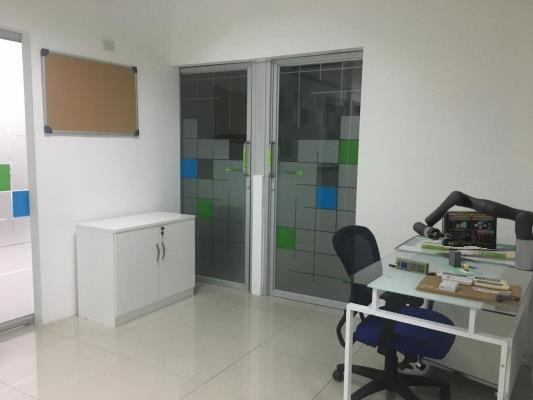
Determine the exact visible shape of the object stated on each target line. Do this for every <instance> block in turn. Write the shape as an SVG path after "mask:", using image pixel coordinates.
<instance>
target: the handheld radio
mask: <svg viewBox="0 0 533 400" xmlns="http://www.w3.org/2000/svg"><path fill="white" fill-rule="evenodd" d="M395 261H396V262H395V264H392V263H389V264H388V267H393V268H396V270H401V271H405V272H410V273H414V274H420V275H425V276H428V275H429V270H430V263H429V262H424V261H419V260H414V259H407V258H402V257H398V256H395Z"/></svg>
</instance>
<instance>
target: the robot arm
mask: <svg viewBox="0 0 533 400" xmlns="http://www.w3.org/2000/svg"><path fill="white" fill-rule="evenodd" d="M455 206H457V207H461V208H467V209H470V210H472V211H477V212H480V213H482V214H485V215H488V216H491V217H495V218H497V219H502V220H509V221H512V222H513V221H514V233H515V249H514V250H515V252H514V253H515V254H514V269H517V270H521V271H532V270H533V211H531V210H524V209H520V208H515V207H512V206H509V205H506V204H504V203H500V202H497V201H494V200H492V199H491V200H489V199H485V198H477V197H474V196H471V195H468V194H466V193H464V192H462V191H460V190H454V191H451V192H450V194H449V195H448V196H447V197H446V198H445V199H444V200H443V201H442V202H441V203H440V205H439V206H438V207H437V208H435V209H434V211H432V212H431V213H430V214H428V216H426V217H425V218H424V222H425V223H423V222H421V221H416V222H415V223H413V225H412V230H413V231H414V232H416V234H418V235H419V236H420V237H426V238H427V239H430V240H432V241H439V240H442V239H446V238H448V239H451V240H452V239H453V236H452V234H449V233H442V230H440V229H439V228H437V227H434V226H435V225H437V223H439V222H440V221H442V218H443V216H444V215H445V213H446V212H447V211H450V209H451V208H453V207H455ZM444 236H445V237H444ZM443 237H444V238H443Z"/></svg>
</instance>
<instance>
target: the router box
mask: <svg viewBox="0 0 533 400" xmlns="http://www.w3.org/2000/svg"><path fill="white" fill-rule="evenodd" d="M497 229H498V218H495V217H491V216H488V215H485V214H482V213H480V212H477V211H475V210H448V211H447V212H446V213H445V215H444V216H443V218H442V219H441V232H442V233H449V234H452V236H453V239H452V240H451V239H448V238H446V239H442V238H441V244H442V245H443V246H451V247H452V246H453V247H464V246H477V247H481V248H487V249H496V250H497V235H498V234H497V233H498V231H497ZM444 237H445V236H444ZM444 237H443V238H444Z"/></svg>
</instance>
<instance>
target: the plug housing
mask: <svg viewBox="0 0 533 400" xmlns="http://www.w3.org/2000/svg"><path fill="white" fill-rule="evenodd" d="M448 264H449V265H450V266H452V267H454V268H457V267H461V264H462V251H461V250H451V249H448Z"/></svg>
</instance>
